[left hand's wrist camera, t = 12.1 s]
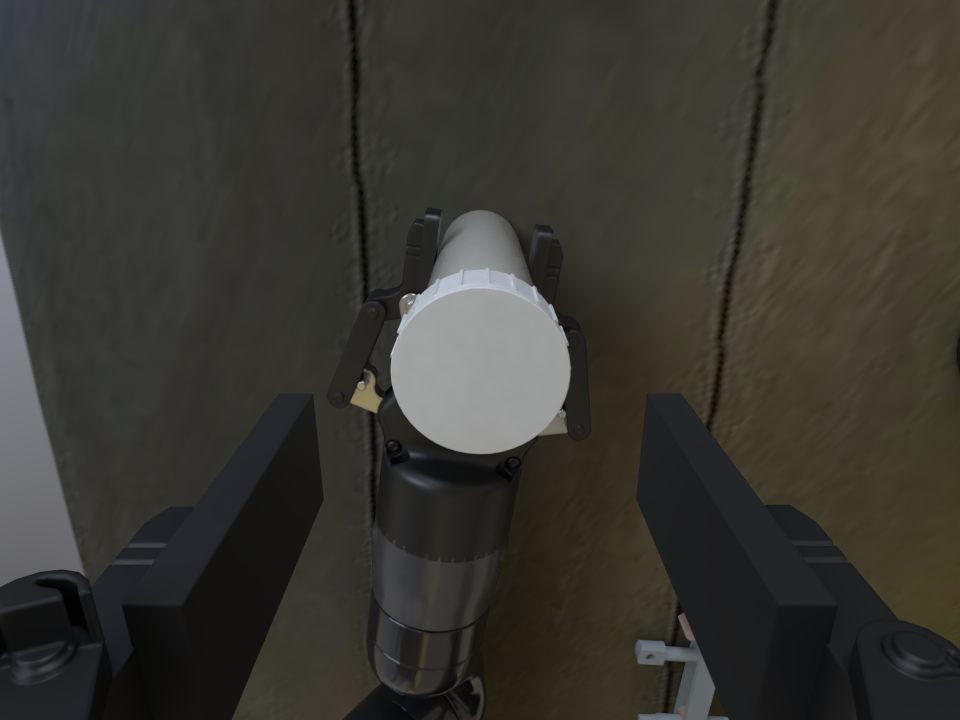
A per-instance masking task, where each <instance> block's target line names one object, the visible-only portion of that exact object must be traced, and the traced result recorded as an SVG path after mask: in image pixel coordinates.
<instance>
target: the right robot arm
mask: <svg viewBox="0 0 960 720" xmlns="http://www.w3.org/2000/svg"><path fill="white" fill-rule="evenodd" d="M441 220H442V210H440V209H433V208H428V209H427V210H426V213H425V219H424V220H423V219H416V220H415V221H414V223H413V225H412V227H411V228H410V230H409V232H408V237H407V247H406V255H405V264H404V273H403V282H402V284H401V285H400V286H398V287H396V288H392V289H387V290H383V289H376V290H374V291H372V292H371V294H370V295H369V297H368V298H367V300H366V301H365V303H364V304H363V306H362V308H361V310H360V312H359V315H358V317H357V320H356V322H355V325H354V327H353V330H352V332H351V335H350V338H349V340H348V343H347V345H346V348H345V350H344V353H343V355H342V358H341V360H340V363H339V365H338V368H337V370H336V373H335V375H334V378H333V380H332V383H331V385H330V388H329V391H328V393H327V399H328V402H329V403H330V404H331V405H332V406H334V407H336V408H344V407H346V406H347V405H349V403H352V404H354V405H357V406H359V407H362V408H364V409H367V410H369V411H372V412H374V413H377V418H378V422H379V424H380V426H381V428H382V430H383V434H384V446H383V455H382V464H381V473H380V482H379V490H378V499H377V508H376V518H375V522H374V525H373V527H372V541H373V545H372V571H373V583H372V591H371V600H370V608H369V617H368V629H367V653H368V659H369V662H370V665H371V668H372V670H373V672H374V674H375V676H376V677H377V678H378V680H379V681H380V682H381V684H380V685H379V686H377V687H376V688H375V689H374V690H373V691H372V692H371V693H370V694H369V695H368V696H367V697H366V698H365V699H364V700H362V701H361V702H360V703H359V704H358V705H357V706H356V707H355V708H354V709H353V710H352V711H351V712H350V713H349V714H347V715H346V716H345V717H344V718H343V719H342V720H483V718H484V714H485V709H486V687H485V677H484V666H483V659H482V653H481V648H480V647H481V644H482V639H483V635H484V630H485V625H486V620H487V615H488V610H489V605H490V600H491V596H492V593H493V591H494V588H495V586H496V583H497V580H498V578H499V574H500V571H501V567H502V563H503V560H504V559H505V556H506V552H507V548H508V539H507V538H508V533H509V528H510V523H511V518H512V513H513V508H514V503H515V498H516V493H517V489H518V484H519V479H520V474H521V469H522V464H523V460H524V457H525V455H526V453H527V451H528V450H529V449H530V448H531V447H532V445H533V444H534V443H535V442H536V440H537V438H538V436H542V435H551V434H561V433H568V435H569V436H570V438H572V439H573V440H577V441H580V440H584V439H586V438H587V437H588V436H589V435H590V433H591V421H590V404H589V388H588V371H587V355H586V340H585V337H584V335H583V333H582V332H581V331H580V328H579V325H578V323H577V321H576V320H575V319H574V318H572V317H569V316H564V315H562V314H560V313H558V312H557V311H555V310H554V311H555V314H556V316H557V319H558V321H559V322H558V324H559V326H562V328H563V331H564V333H565V336H566V338H567V341H568V344H569V346H567V349H568V352H569V357H570V365H571V377H570V383H569V389H568V392H567V395H566V398H565V401H564V403H563V405H562V407H561V409H560V411H559V412H558V414H557V415H556V417H555V418H554V419H553V421H552V422H551V423H550V424H549V425H548V426H547V427H546V428H545V429H544V430H543V431H542V432H541V433H540V434H538V435H537V436H536V437H534V438H533V439H532V440H530V441H528V442H526V443H524V444H523V445H520V446H518V447H515V448H513V449H510V450H506V451H503V452H498V453H491V454H470V453H464V452H459V451H455V450H452V449H449V448H446V447H443V446H441V445H439V444H437V443H435V442H433V441H432V440H430V439H429V438H427V437H426V436H424V435H423V434H422V433H421V432H419V431H418V430H417V429H416V428H415V427H414V426H413V425H412V424H411V423H410V421H409V420H408V419H407V417H406V416H405V415H404V413H403V412H402V410H401V408H400V406H399V404H398V402H397V399H396V397H395V394H394V390H393V386H391V387H390V388H389V389H388V390H387V391H386V392H385V391H383V390H381V389H380V387H379V386H378V383H377V379H378V371H377V369H376V368H375V367H374V366H373V365H371V364H369V363H368V360H369V358H370V355H371V353H372V351H373V348H374V346H375V343H376V341H377V338H378V336H379V334H380V331H381V329H382V326H383V324H384V321H388V320H393V319H398V318H402V319H403V316H404V314H406V315H407V314H408V312H409V310H410V308H411V307H412V305H413V304H414V302H415V299H416V296H417V295H418V294H420V295H421V294H422V293H423V292H424V291H425V290H426V289H427V286H428V283H429V280H430V277H431V274H432V271H433V268H434V265H435V262H436V258H437V251H438V243H439V235H440V228H441ZM562 260H563V253H562V248H561V245H560V243H559V241H558V240H554V239H553V230H552V229H551V227H550V226H544V225H538V224H536V225H535V228H534V232H533V238H532V243H531V249H530V254H529V260H528V265H527V267H528V270H529V273H530V276H531V279H532V282H533V285H534V286H535V287H536V288H537V291H538V293H539V294H540V295H541V296H542V297H543V298H544V299H545V300H546V302H547V303H548V304H549V305H550V304H551V305H552V306H553V304H554V299H555V294H556V289H557V284H558V279H559V274H560V269H561V265H562ZM957 361H958V367H959V371H960V337H959V341H958V347H957Z"/></svg>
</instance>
